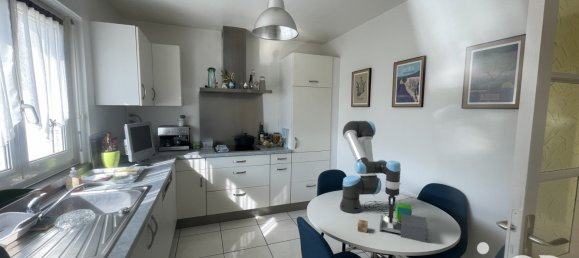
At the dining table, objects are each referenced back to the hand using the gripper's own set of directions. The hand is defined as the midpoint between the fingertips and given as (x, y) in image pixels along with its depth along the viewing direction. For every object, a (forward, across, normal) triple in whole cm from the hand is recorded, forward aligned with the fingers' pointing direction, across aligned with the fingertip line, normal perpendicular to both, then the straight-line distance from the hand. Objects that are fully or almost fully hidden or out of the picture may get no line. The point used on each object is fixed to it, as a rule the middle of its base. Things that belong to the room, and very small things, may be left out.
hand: (390, 224), depth 140 cm
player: (+3, 0, -12) cm, 12 cm away
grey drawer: (+3, 0, -1) cm, 3 cm away
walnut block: (+3, -8, +15) cm, 17 cm away
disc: (-2, 0, 0) cm, 2 cm away
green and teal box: (+3, +18, -7) cm, 20 cm away
